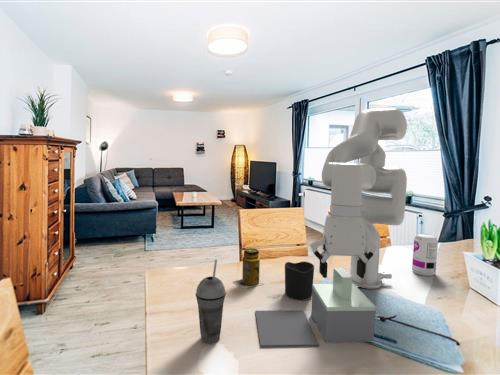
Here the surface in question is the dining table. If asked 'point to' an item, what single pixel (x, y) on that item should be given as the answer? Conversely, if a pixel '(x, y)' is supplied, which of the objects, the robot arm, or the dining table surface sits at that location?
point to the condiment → (250, 269)
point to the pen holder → (299, 280)
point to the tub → (343, 323)
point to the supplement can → (425, 254)
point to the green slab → (342, 294)
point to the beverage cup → (210, 307)
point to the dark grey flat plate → (284, 329)
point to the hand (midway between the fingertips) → (341, 276)
